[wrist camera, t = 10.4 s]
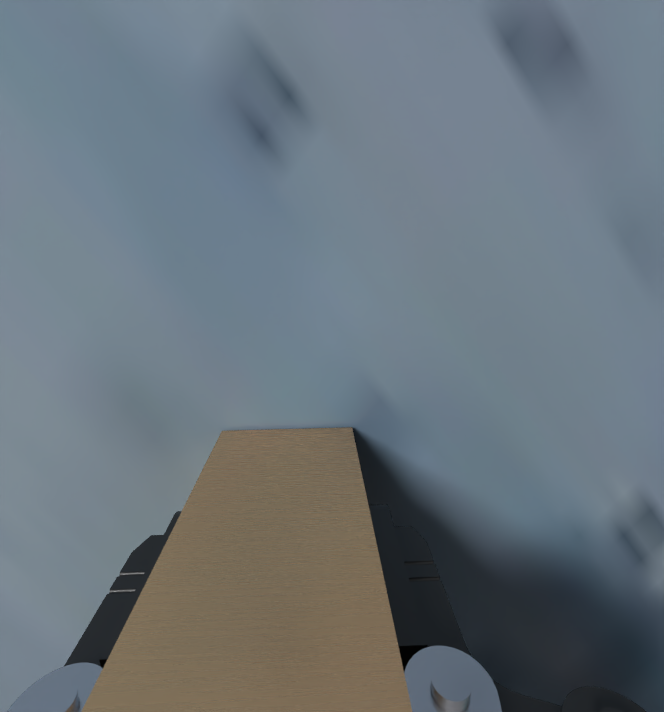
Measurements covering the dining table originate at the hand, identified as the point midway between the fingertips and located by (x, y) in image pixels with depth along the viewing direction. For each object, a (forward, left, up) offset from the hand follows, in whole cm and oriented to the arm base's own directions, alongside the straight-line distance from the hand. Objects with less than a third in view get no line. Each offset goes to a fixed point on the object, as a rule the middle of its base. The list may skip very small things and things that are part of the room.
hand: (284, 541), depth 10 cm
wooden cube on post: (+1, +7, -2) cm, 7 cm away
